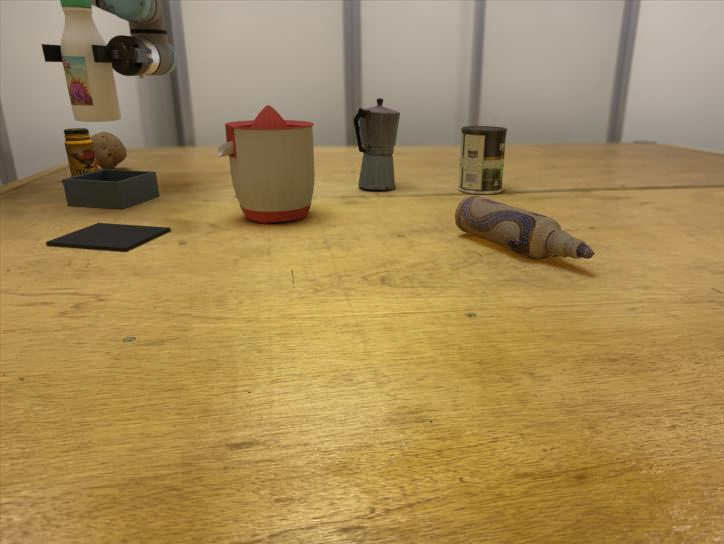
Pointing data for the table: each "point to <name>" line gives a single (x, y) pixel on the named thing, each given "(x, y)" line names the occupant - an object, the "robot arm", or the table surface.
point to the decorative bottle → (518, 229)
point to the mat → (109, 237)
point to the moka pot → (377, 145)
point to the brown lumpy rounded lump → (108, 150)
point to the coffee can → (482, 159)
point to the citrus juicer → (271, 166)
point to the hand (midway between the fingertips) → (70, 53)
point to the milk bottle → (86, 66)
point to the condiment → (80, 151)
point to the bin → (111, 188)
